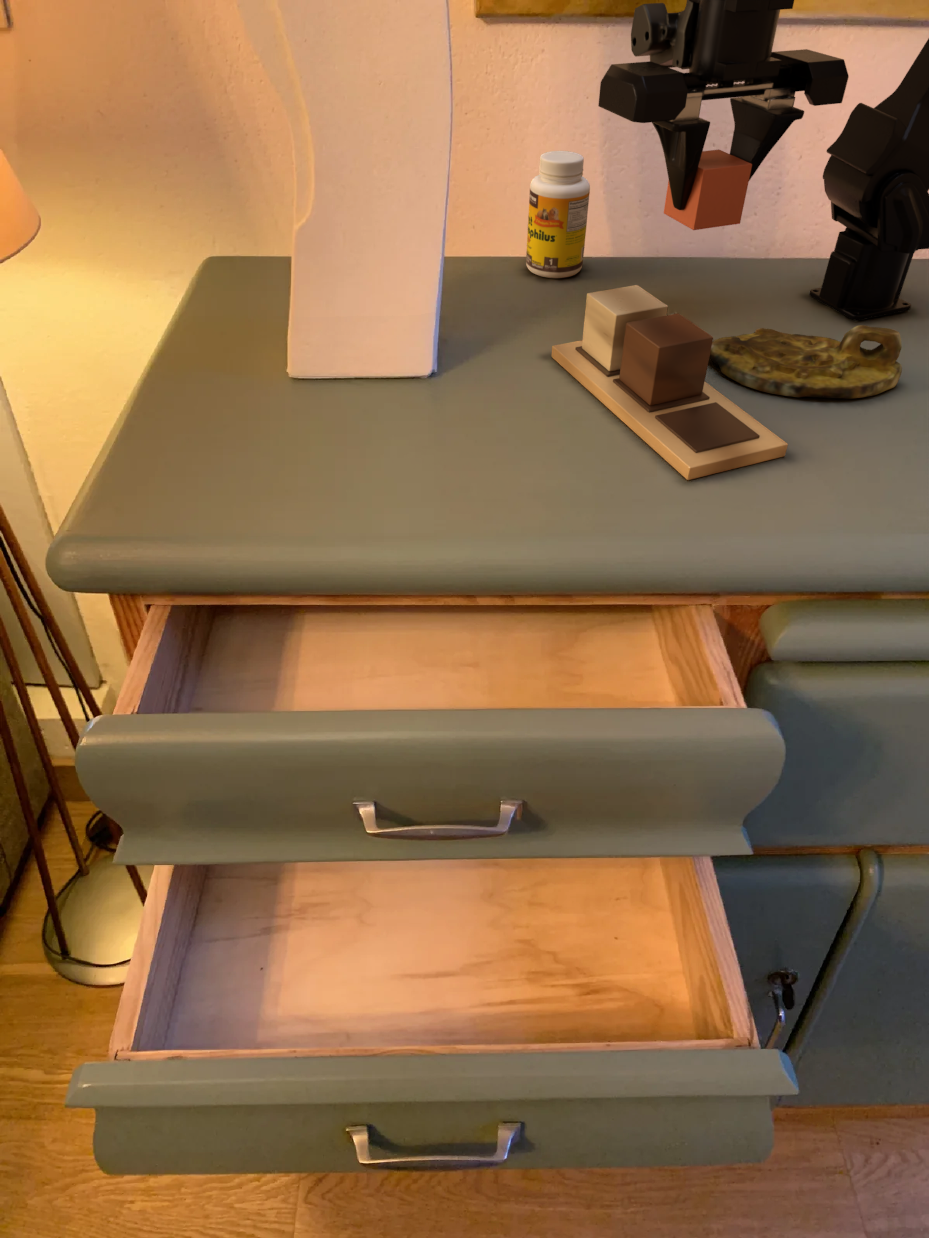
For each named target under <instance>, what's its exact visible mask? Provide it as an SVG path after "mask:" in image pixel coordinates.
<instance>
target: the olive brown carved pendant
mask: <svg viewBox="0 0 929 1238" xmlns="http://www.w3.org/2000/svg"><path fill="white" fill-rule="evenodd" d="M865 341H866V342H873V343H877V344H879V345H878V346H876V347H874V348H872V349H868V348H864V347H862V346H861V345H862V343H863V342H865ZM902 349H903V347H902V337H901V333H900V332H899V331H898V330H895V329H893V328H888V327H877V326H869V325H866V324H865V325H864V324H861V325H860V324H859V325H856V326H854V327H852V328H851V329H849V330H848V331H847V332H846V333H844V334H843V337H842V339H841V340H838V339H834V338H831V337H825V336H824V337H823V336H819V335H808V334H807V335H806V334H798V333H787V332H782V331H778V330H775V329H772V328H765V327H762V328H756V329H755V331H754V332H752V333H743V334H742V333H741V334H739V335H731V336H723V337H719V338H717V339H713V341H712V346H711V351H710V356H709V359H710V360H711V361H712V362H713V363H714V364H716V365H717V366H719V369H720V372H721V373H722V374H723V375H725V376H726V377H728V378H729V379H731V380H733V381H735V382H736V383H738V384H740V385H742V386H744V387H748V388H751V389H753V390H756V391H760V392H763V393H768V394H771V395H779V396H785V397H792V398H804V397H808V398H824V399H846V400H847V399H848V400H850V399H861V398H867V397H872V396H876V395H879V394H881V393H883V392H885V391H888V390H891V389H893V388H895V387H896V386H897V385H898V383H899V380H900V378H901V375H902V371H903V365H902V364H901V363H900V362H898V361H897V360H898V359H899V358H900V354H901V351H902Z"/></svg>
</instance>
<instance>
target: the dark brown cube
mask: <svg viewBox="0 0 929 1238" xmlns="http://www.w3.org/2000/svg"><path fill="white" fill-rule="evenodd" d="M712 341H714V336H713V335H711V334H709V333H708V332H707V331H706V330H704V329H702V328H701V327H700V326H698V325H696V324H695V323H694V322H692V321H691V320H689V319H688V318H687V317H685V316H683V315H682V314H680V313H679V312H677V313H672V314H667V315H666V316H661V317H655V318H650V319H644V320H639V321H634V322H628V323H626V331H625V338H624V346H623V354H622V361H621V369H620V377H619V379H620V380H621V381H622V382H623V383H624V384H625V385H626V386H628V387H629V388H630V389H631V390H632V391H634V392H635V393H636V394H637V395H638V396H639V397H641V398H642V399H643V400H644V401H645V402H647V403H648V404H649V405H656V404H661V403H665V402H670V401H674V400H679V399H684V398H688V397H693V396H697V395H701V394H702V392H703V387H704V382H706V375H707V372H708V365H709V362H710V361H709V360H710V358H709V356H710V351H711V346H712Z"/></svg>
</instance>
